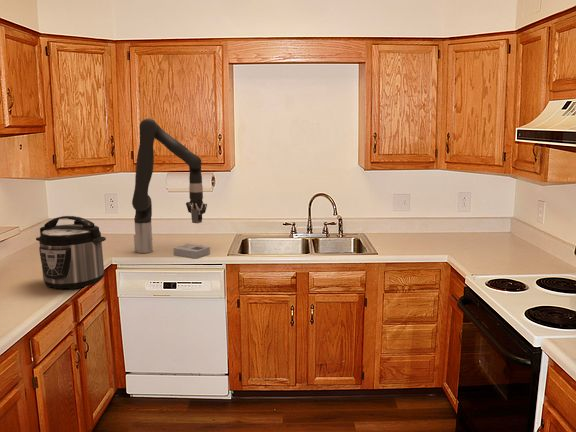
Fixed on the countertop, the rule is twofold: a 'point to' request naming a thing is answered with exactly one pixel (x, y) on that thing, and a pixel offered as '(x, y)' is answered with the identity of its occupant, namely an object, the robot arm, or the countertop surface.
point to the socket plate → (191, 251)
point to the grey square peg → (195, 216)
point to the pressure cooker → (71, 253)
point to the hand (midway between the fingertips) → (196, 220)
